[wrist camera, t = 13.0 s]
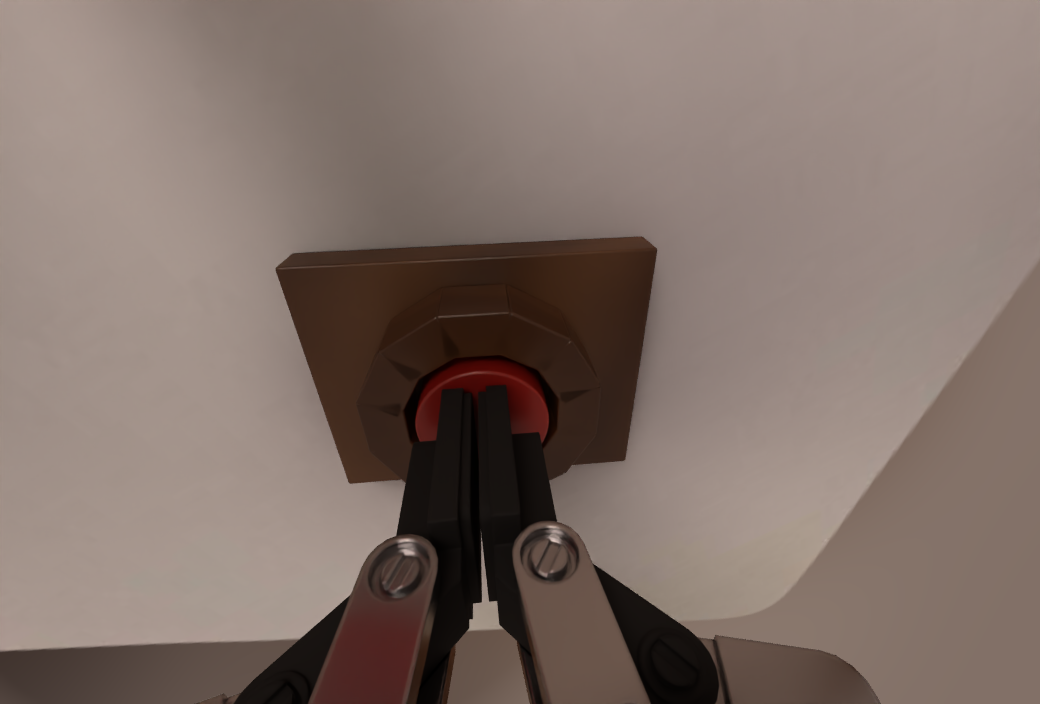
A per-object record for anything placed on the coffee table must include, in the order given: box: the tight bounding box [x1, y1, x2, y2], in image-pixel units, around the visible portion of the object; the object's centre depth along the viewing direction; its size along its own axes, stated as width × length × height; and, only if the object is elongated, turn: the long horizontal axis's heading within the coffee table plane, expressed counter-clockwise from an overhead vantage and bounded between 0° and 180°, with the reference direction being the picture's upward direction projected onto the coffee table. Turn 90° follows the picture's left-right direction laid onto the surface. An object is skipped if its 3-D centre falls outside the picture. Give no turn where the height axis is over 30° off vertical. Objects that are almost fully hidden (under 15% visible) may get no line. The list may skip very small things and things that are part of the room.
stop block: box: [276, 237, 657, 484], centre depth 13 cm, size 10×8×3 cm
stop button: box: [415, 355, 549, 458], centre depth 12 cm, size 4×4×2 cm
